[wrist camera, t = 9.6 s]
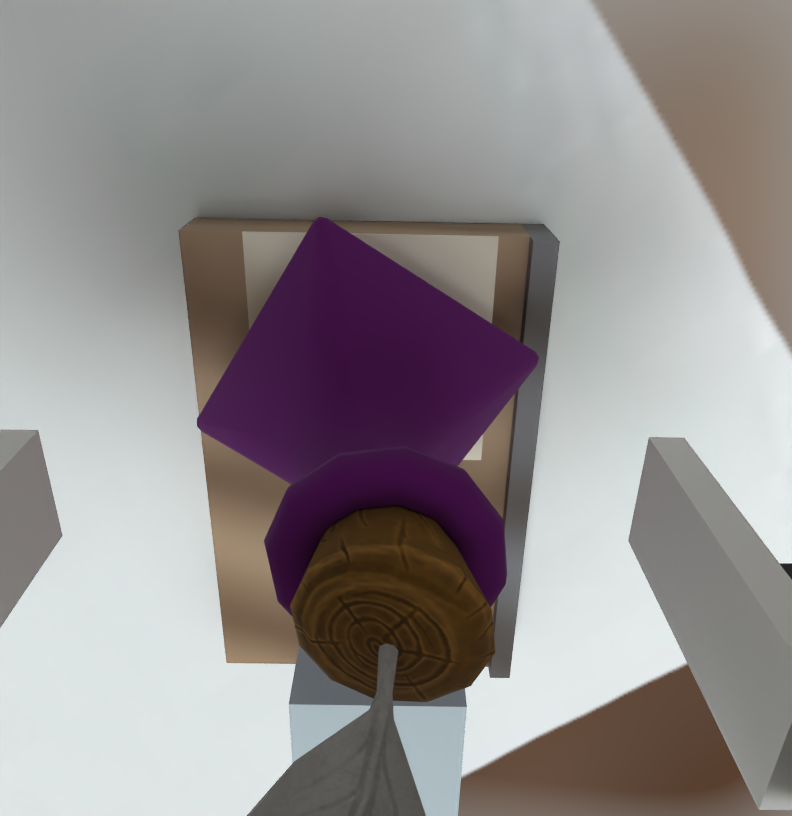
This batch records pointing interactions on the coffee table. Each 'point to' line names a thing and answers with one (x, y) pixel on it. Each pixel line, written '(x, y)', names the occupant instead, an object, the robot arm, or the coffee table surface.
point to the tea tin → (416, 723)
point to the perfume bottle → (372, 497)
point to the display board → (263, 491)
